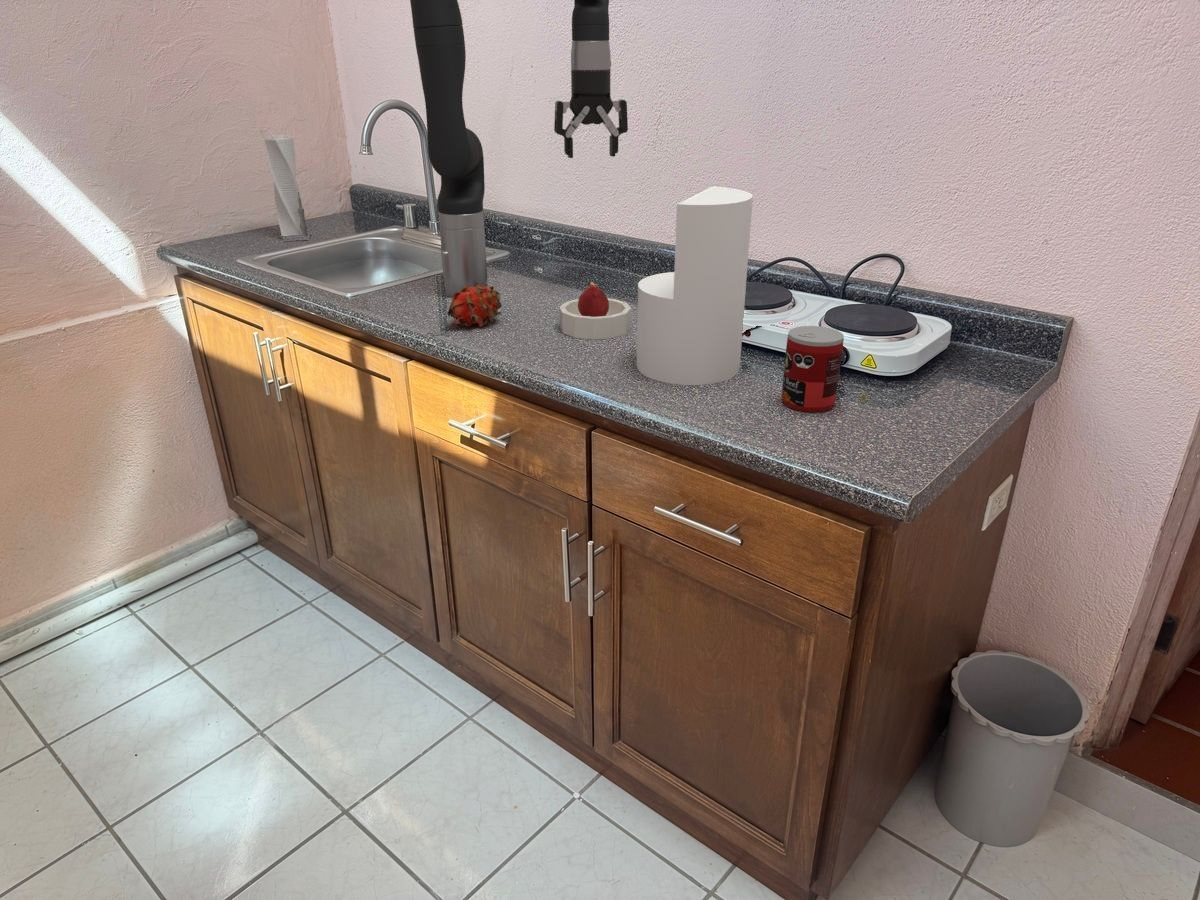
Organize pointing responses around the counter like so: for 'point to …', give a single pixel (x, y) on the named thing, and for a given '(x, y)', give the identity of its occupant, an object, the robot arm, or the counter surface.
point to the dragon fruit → (475, 305)
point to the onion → (593, 302)
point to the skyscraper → (285, 184)
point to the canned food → (812, 368)
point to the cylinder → (698, 294)
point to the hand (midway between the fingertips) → (591, 156)
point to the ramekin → (595, 321)
